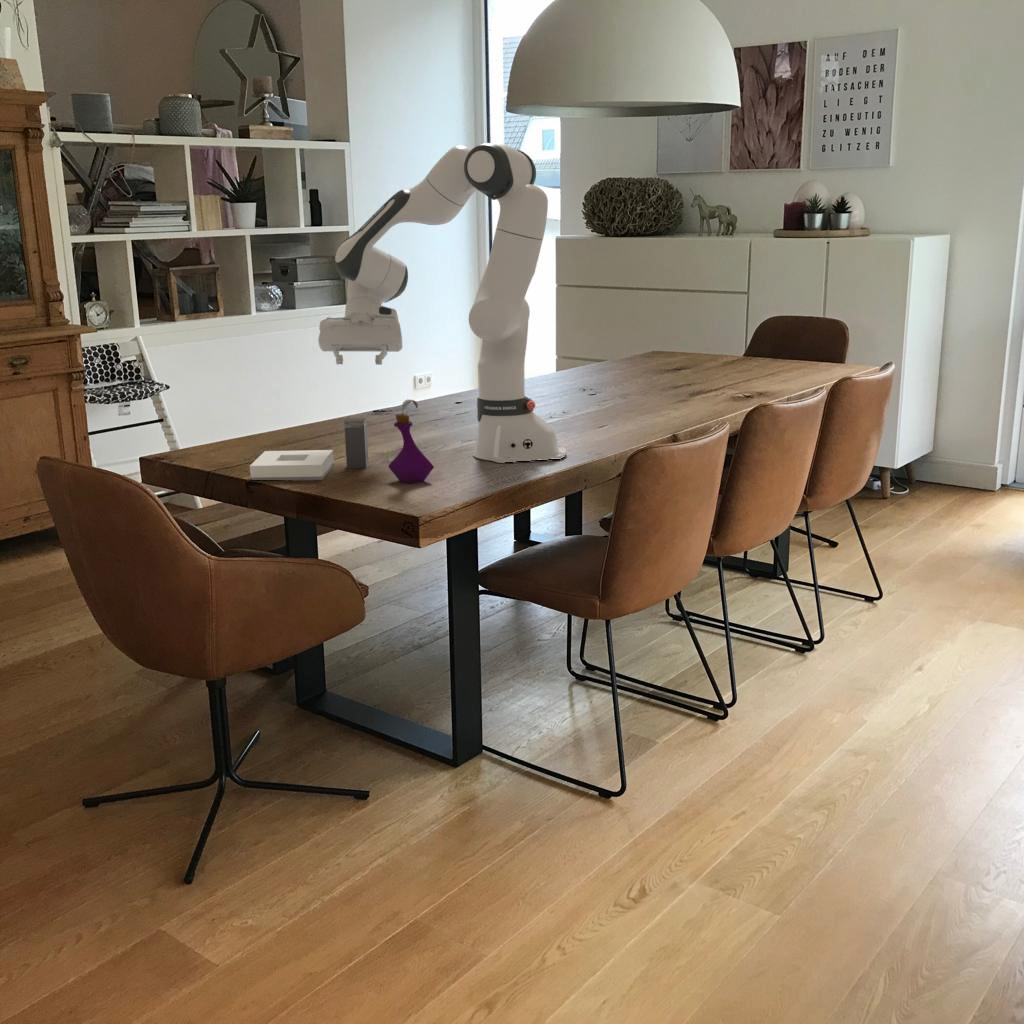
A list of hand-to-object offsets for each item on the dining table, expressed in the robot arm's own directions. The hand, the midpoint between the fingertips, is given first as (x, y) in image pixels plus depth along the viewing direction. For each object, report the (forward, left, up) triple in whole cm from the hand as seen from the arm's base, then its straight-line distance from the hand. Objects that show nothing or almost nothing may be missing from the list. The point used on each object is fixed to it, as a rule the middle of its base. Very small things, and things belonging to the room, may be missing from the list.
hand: (358, 363), depth 274 cm
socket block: (+14, +18, -22) cm, 32 cm away
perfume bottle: (-14, +28, -23) cm, 39 cm away
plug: (0, +12, -23) cm, 26 cm away
